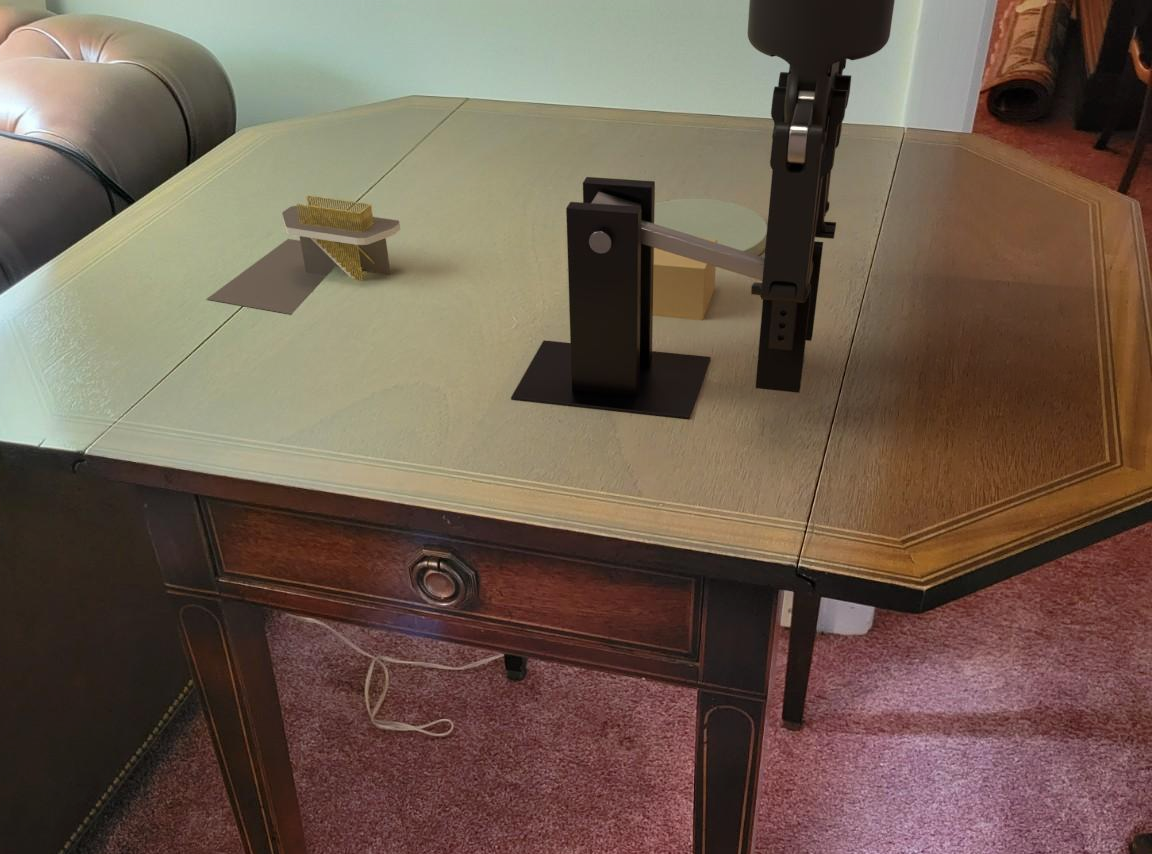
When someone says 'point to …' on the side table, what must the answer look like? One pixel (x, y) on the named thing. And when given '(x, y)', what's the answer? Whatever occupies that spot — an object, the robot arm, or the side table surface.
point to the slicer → (612, 317)
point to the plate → (714, 222)
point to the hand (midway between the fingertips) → (784, 360)
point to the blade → (694, 245)
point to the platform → (313, 255)
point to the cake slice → (681, 286)
